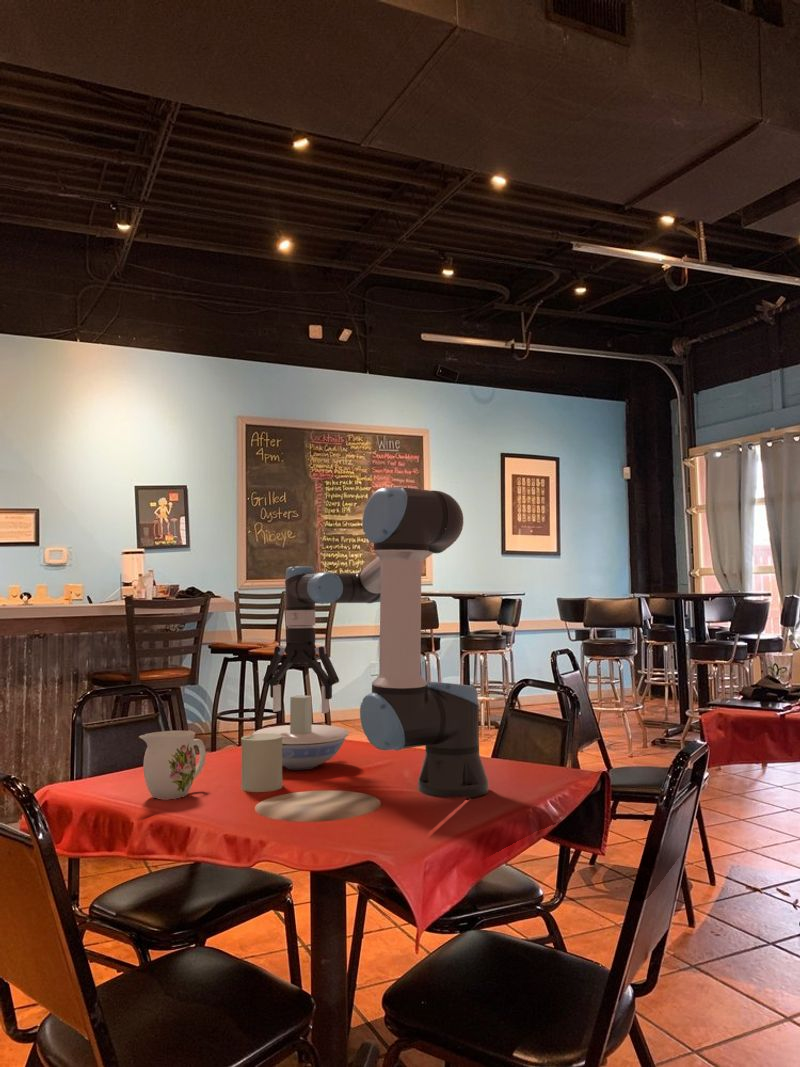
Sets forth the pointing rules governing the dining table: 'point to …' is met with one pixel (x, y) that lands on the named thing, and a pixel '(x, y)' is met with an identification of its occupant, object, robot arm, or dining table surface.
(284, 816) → the disc
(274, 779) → the can
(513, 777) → the dining table surface
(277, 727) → the lid
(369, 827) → the dining table surface
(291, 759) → the ramen bowl
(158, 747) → the pitcher
